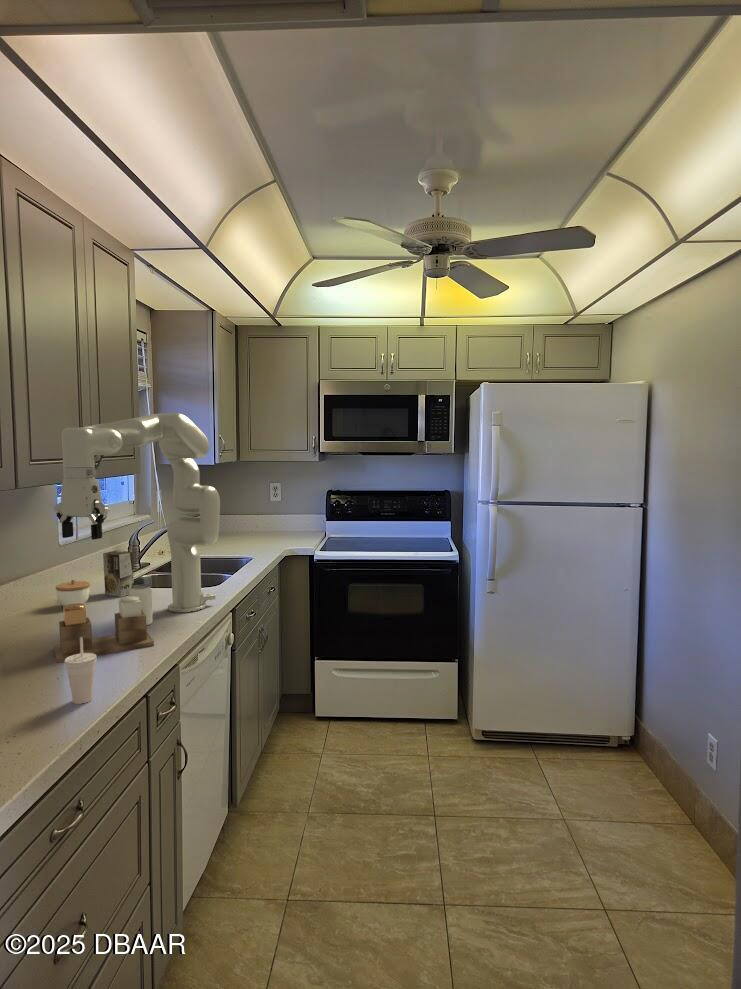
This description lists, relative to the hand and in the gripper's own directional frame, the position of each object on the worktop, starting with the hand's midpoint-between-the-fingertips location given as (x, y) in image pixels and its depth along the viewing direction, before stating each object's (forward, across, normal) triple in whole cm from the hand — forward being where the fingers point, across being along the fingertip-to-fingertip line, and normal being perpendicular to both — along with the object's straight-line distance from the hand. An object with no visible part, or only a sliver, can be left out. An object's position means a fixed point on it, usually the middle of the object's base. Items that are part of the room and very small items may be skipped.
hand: (82, 538), depth 157 cm
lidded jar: (+31, +40, -35) cm, 62 cm away
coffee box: (+31, +36, -54) cm, 72 cm away
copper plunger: (+26, +2, +1) cm, 26 cm away
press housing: (+31, -2, -4) cm, 32 cm away
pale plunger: (+26, -7, -9) cm, 28 cm away
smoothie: (+31, -23, +26) cm, 47 cm away
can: (+31, +2, -25) cm, 40 cm away
